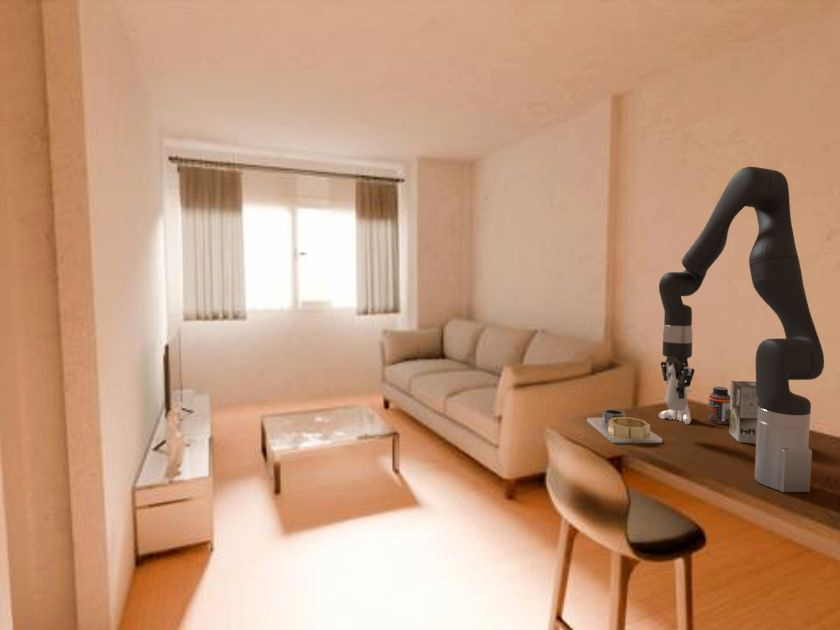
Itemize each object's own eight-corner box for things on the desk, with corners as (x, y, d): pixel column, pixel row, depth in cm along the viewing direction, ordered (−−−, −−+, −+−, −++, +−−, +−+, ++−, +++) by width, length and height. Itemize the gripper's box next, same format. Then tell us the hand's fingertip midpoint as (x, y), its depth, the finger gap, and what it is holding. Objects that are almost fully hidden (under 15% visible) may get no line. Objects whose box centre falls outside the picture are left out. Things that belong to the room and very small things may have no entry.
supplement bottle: (703, 420, 150) (704, 386, 149) (717, 418, 152) (718, 385, 151) (720, 425, 144) (721, 390, 143) (734, 423, 146) (736, 389, 145)
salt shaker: (690, 412, 131) (691, 367, 130) (668, 411, 132) (669, 367, 132) (682, 406, 137) (683, 364, 136) (662, 406, 138) (663, 363, 137)
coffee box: (764, 445, 128) (767, 388, 126) (737, 442, 130) (740, 386, 128) (752, 434, 136) (755, 381, 135) (727, 432, 138) (730, 379, 137)
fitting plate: (662, 442, 130) (662, 428, 130) (612, 443, 130) (613, 428, 130) (629, 420, 150) (630, 408, 149) (587, 421, 150) (587, 408, 149)
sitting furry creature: (657, 418, 152) (659, 383, 151) (667, 413, 158) (668, 379, 157) (689, 424, 145) (690, 387, 144) (698, 419, 151) (699, 383, 150)
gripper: (705, 343, 127) (703, 404, 128) (676, 337, 141) (675, 393, 142) (678, 343, 126) (676, 404, 128) (652, 338, 141) (651, 393, 142)
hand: (675, 398), depth 135 cm, fingers closed on salt shaker, 3 cm apart
